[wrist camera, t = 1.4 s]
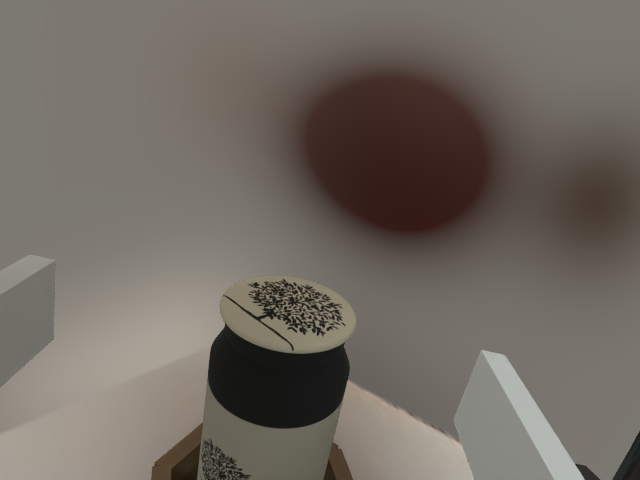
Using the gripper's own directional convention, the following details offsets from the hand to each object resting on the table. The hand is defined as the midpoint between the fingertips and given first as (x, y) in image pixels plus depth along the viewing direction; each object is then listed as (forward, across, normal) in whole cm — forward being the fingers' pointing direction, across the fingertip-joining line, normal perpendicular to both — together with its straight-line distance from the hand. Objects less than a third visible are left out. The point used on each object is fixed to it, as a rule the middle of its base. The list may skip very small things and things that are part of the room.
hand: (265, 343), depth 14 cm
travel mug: (+11, +1, -22) cm, 24 cm away
